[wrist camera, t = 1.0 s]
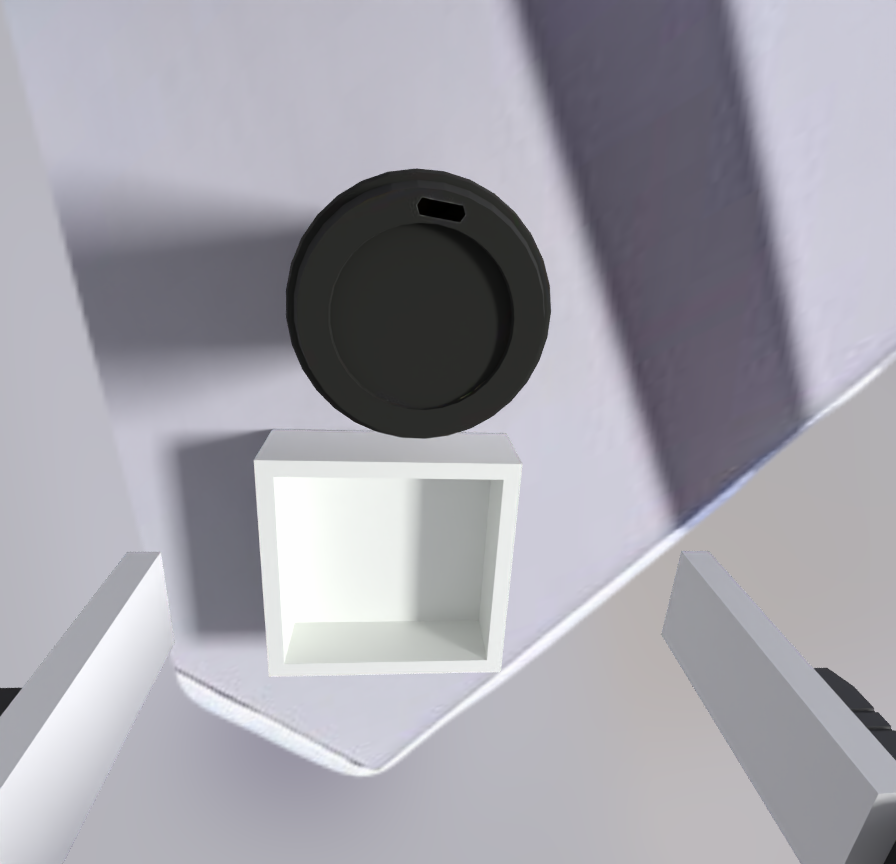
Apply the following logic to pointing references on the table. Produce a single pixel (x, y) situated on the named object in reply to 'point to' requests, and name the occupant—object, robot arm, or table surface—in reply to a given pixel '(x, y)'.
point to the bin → (385, 551)
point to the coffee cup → (418, 303)
